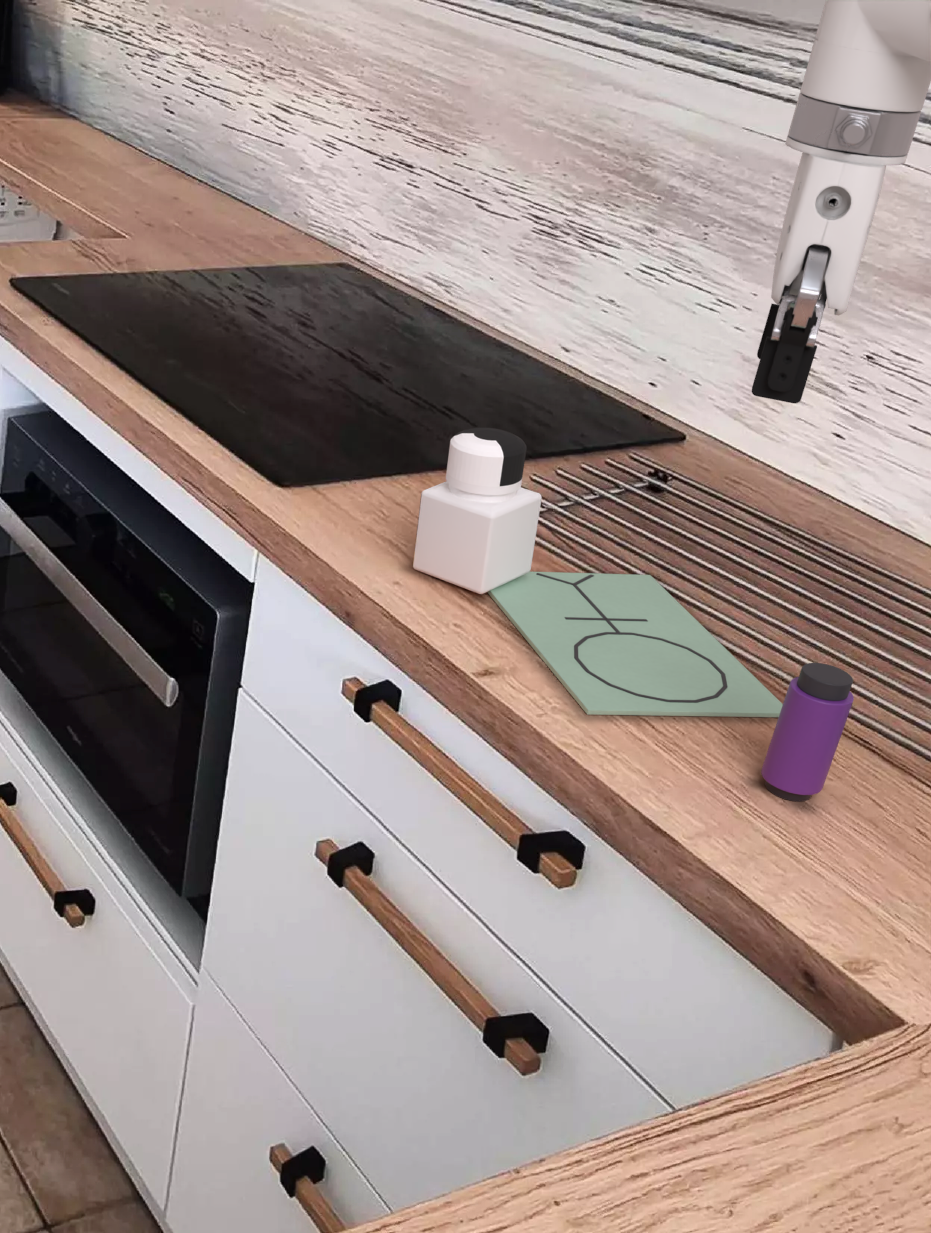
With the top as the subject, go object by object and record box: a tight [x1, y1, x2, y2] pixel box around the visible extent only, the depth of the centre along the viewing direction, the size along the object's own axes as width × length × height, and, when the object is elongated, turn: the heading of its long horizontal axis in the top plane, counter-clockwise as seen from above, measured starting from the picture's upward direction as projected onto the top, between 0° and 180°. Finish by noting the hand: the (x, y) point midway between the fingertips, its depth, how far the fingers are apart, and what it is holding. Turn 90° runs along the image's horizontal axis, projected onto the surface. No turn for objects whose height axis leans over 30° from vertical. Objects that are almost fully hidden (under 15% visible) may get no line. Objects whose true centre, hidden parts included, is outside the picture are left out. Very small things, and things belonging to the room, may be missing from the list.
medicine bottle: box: [412, 427, 543, 595], centre depth 145 cm, size 7×7×12 cm
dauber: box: [760, 662, 855, 802], centre depth 118 cm, size 4×4×9 cm
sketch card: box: [486, 571, 783, 718], centre depth 139 cm, size 24×16×1 cm, turn 8°
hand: (776, 379), depth 124 cm, fingers open, 9 cm apart
